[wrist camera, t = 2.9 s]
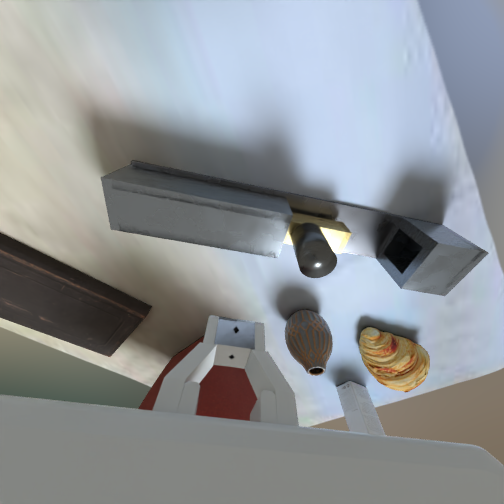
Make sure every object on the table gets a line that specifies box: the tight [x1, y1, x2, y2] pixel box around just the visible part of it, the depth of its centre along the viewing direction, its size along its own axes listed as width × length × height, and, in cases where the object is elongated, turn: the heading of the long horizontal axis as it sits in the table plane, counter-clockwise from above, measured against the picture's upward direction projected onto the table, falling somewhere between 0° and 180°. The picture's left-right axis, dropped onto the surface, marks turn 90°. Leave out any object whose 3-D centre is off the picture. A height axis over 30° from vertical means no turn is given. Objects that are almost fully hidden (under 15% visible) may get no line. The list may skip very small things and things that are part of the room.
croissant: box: [359, 327, 430, 392], centre depth 38 cm, size 21×10×8 cm, turn 45°
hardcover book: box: [0, 233, 152, 357], centre depth 33 cm, size 16×23×2 cm
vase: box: [285, 310, 333, 376], centre depth 31 cm, size 7×7×9 cm
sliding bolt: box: [284, 212, 352, 278], centre depth 20 cm, size 22×3×7 cm, turn 78°
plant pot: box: [139, 336, 257, 421], centre depth 35 cm, size 19×19×17 cm
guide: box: [101, 160, 488, 296], centre depth 23 cm, size 36×6×6 cm, turn 78°
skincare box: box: [337, 381, 385, 435], centre depth 44 cm, size 6×4×12 cm
